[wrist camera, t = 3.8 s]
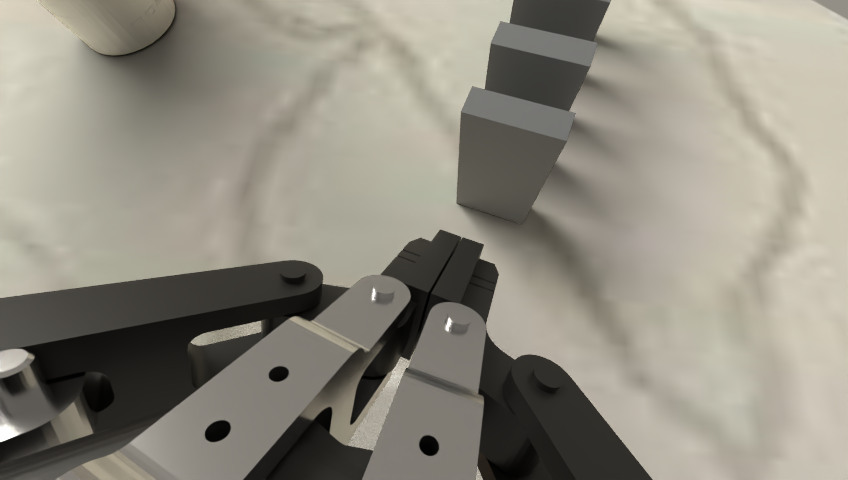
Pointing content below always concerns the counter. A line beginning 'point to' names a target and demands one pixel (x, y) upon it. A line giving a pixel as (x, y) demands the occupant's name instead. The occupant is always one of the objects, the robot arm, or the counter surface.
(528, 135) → the domino
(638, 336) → the counter surface
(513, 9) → the domino
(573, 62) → the domino
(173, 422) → the robot arm
